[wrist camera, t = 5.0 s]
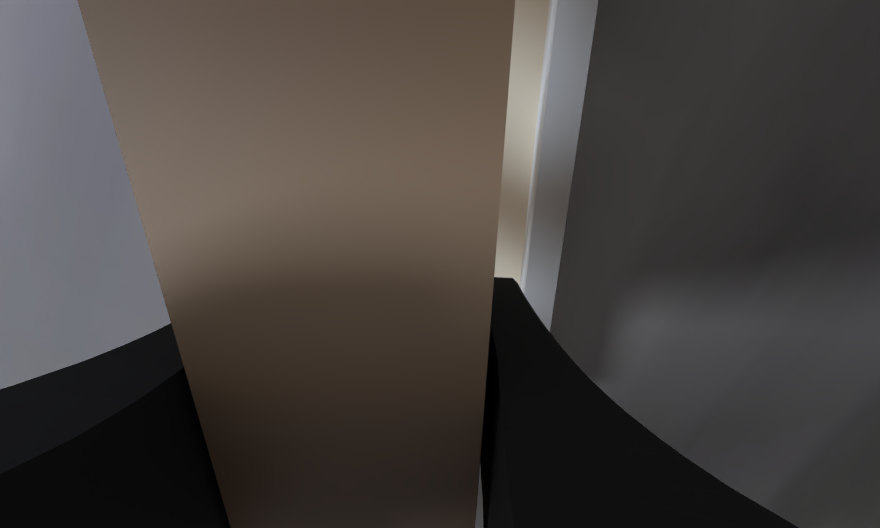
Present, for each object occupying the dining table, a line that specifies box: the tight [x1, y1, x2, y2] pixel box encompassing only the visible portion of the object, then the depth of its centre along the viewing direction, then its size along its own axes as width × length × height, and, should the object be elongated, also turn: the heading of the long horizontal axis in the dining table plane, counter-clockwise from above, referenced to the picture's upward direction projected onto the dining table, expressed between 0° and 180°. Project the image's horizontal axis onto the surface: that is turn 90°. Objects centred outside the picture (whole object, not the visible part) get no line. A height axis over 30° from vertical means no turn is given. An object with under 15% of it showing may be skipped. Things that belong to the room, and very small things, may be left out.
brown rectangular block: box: [78, 0, 515, 528], centre depth 9 cm, size 12×4×6 cm, turn 179°
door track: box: [494, 0, 598, 332], centre depth 17 cm, size 18×9×3 cm, turn 179°
